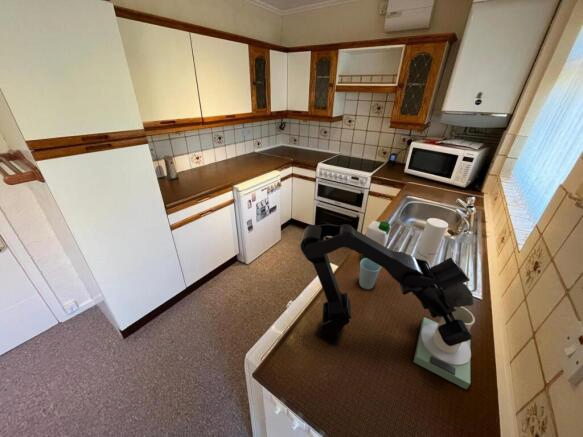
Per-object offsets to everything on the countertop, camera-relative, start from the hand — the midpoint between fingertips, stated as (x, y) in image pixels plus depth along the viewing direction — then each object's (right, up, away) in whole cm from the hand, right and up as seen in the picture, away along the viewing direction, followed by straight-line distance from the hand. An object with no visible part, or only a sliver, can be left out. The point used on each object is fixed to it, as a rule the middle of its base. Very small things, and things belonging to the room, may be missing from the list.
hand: (457, 325), depth 67 cm
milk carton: (-10, +11, +43) cm, 46 cm away
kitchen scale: (-2, -10, +5) cm, 11 cm away
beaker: (-1, -7, +4) cm, 8 cm away
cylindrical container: (+9, +7, +36) cm, 37 cm away
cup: (-17, +4, +29) cm, 34 cm away
